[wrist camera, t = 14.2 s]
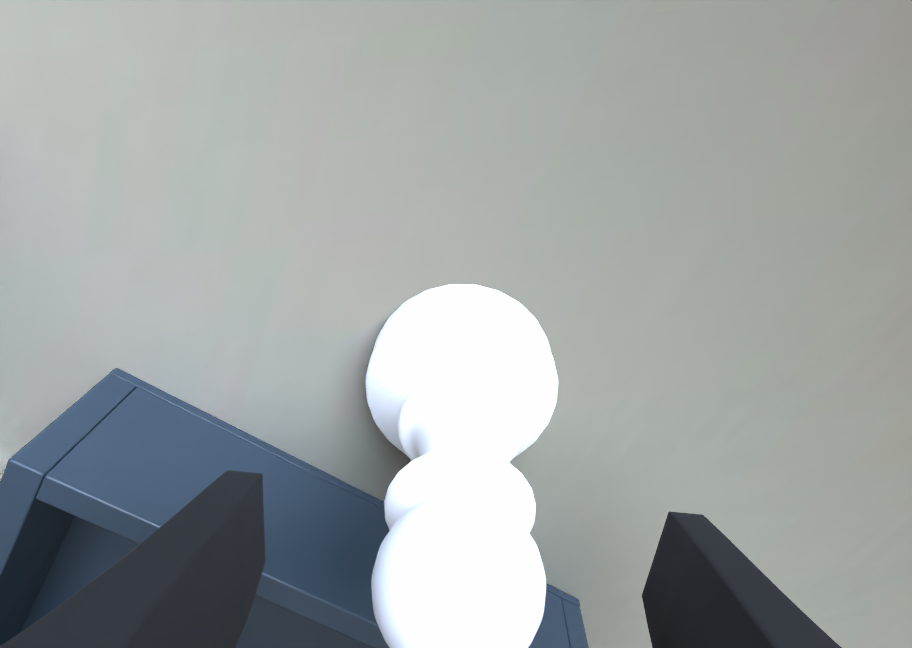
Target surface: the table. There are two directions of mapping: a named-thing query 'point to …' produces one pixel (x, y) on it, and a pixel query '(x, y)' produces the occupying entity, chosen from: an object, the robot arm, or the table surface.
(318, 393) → the table surface
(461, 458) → the chess pawn
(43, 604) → the crate
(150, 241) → the table surface
